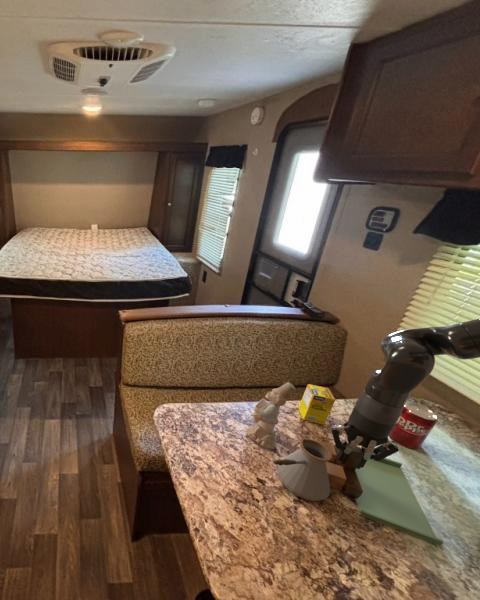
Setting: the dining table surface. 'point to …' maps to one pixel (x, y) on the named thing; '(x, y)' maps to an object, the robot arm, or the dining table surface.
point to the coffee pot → (306, 470)
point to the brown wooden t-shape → (351, 472)
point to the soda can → (413, 426)
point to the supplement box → (316, 404)
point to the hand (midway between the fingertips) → (349, 463)
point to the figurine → (268, 416)
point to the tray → (392, 499)
